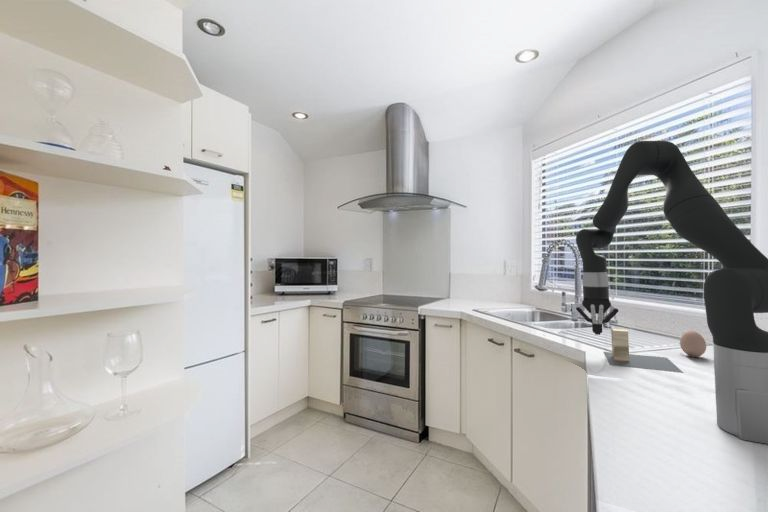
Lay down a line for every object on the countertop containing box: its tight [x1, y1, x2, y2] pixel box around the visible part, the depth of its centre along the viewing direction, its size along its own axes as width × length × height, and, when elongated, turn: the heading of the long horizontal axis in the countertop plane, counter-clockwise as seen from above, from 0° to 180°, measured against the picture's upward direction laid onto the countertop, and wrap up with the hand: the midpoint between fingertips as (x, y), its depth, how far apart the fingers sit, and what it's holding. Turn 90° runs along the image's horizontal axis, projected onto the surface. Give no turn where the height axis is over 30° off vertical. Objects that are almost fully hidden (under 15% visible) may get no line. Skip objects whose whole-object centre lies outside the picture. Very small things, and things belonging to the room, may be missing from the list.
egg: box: [679, 329, 707, 358], centre depth 110 cm, size 7×7×9 cm
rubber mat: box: [603, 351, 684, 374], centre depth 105 cm, size 16×18×1 cm
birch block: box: [610, 327, 630, 362], centre depth 107 cm, size 5×4×10 cm
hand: (597, 334), depth 110 cm, fingers closed
